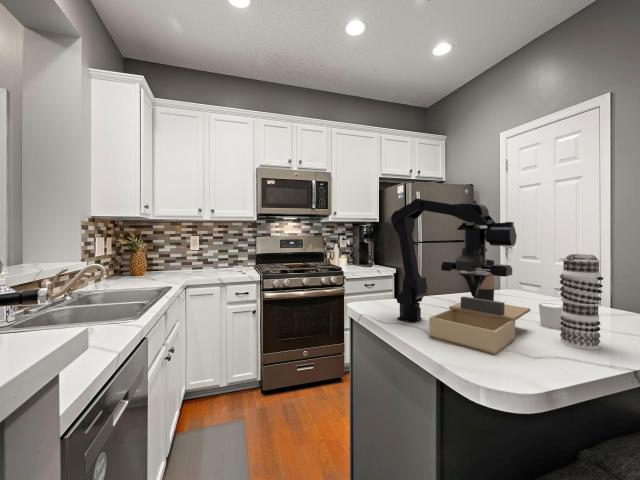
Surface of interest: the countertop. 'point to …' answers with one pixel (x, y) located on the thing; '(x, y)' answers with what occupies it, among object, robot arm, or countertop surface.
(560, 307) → the shot glass
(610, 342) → the countertop surface
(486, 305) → the carton lid
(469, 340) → the carton
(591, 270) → the decorative candle
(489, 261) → the travel mug
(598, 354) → the countertop surface
